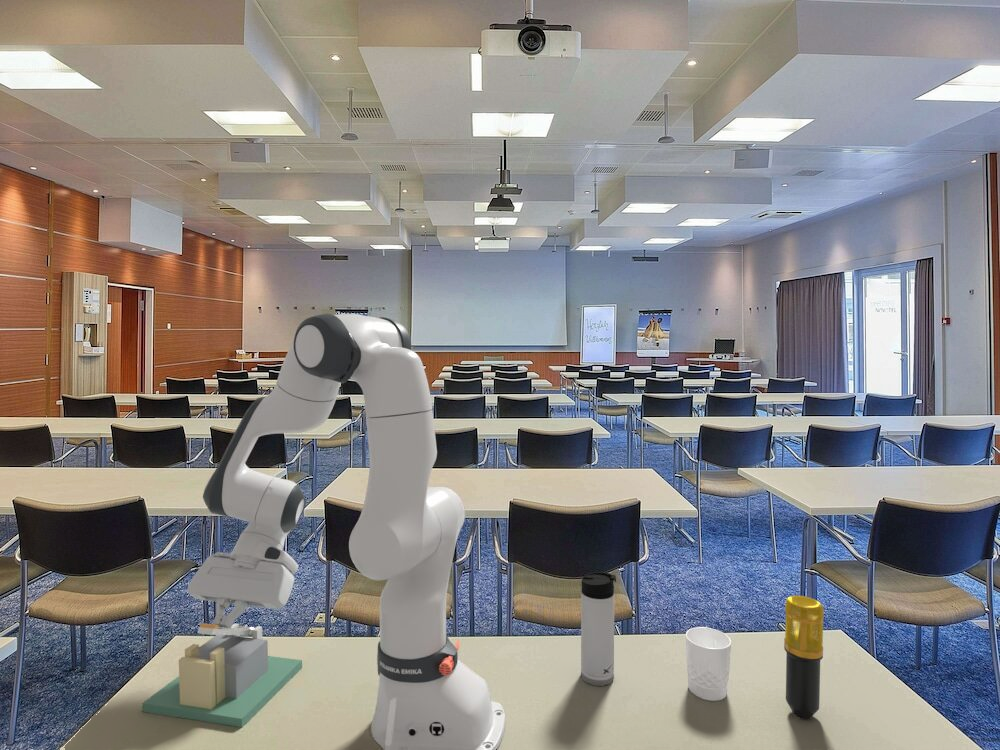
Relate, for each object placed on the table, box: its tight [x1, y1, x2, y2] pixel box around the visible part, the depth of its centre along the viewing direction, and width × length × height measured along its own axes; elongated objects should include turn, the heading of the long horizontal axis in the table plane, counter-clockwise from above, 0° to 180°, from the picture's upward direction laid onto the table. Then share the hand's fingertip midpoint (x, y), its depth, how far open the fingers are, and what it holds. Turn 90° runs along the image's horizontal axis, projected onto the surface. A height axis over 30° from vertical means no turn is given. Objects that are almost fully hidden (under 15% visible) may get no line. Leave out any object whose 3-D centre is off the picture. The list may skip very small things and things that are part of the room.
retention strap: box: [196, 623, 255, 638], centre depth 104 cm, size 4×13×2 cm, turn 168°
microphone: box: [783, 595, 825, 720], centre depth 96 cm, size 6×13×20 cm, turn 99°
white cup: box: [685, 626, 732, 702], centre depth 103 cm, size 8×8×10 cm
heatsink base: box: [141, 623, 303, 728], centre depth 104 cm, size 20×18×10 cm
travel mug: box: [580, 571, 617, 687], centre depth 107 cm, size 6×7×20 cm
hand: (221, 626), depth 103 cm, fingers closed, pressing on retention strap
